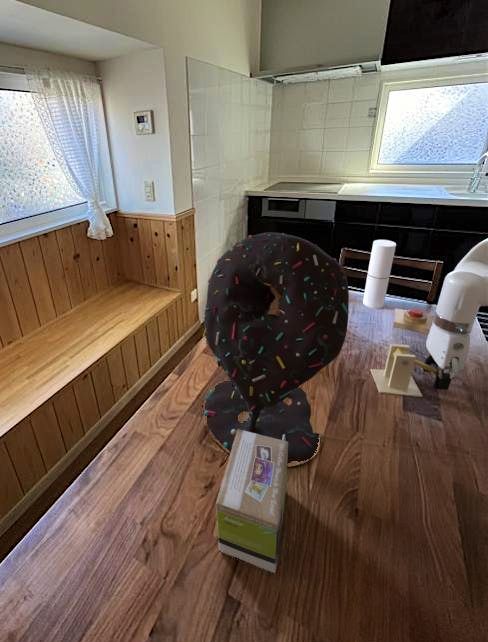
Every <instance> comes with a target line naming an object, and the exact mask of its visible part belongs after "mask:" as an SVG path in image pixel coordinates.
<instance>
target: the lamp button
mask: <svg viewBox="0 0 488 642" xmlns="http://www.w3.org/2000/svg"><path fill="white" fill-rule="evenodd" d="M409 309H410V313H409V314H410V315H411V316H413V317H417V318H420V317H422V314H423V312H424V311H423V310H422V309H420V308H417V307H411V308H409Z"/></svg>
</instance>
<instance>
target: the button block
mask: <svg viewBox="0 0 488 642" xmlns="http://www.w3.org/2000/svg"><path fill="white" fill-rule="evenodd" d="M410 309H411V308H409V309H401V308H396V307H395V308H394V310H393V318H392V319H393V320H392V328H393V329H394V328H395V329H400V330H405V331H408V332H409V331H410V332H414V333H419V334H423V335H428V334H429V331H430V329H431V326H432V324H433V319H434V315H435V314H429V313H425V312H424V311H423V314H422V317H420V318H417V317H413V316H411V315H410V314H409V313H410Z"/></svg>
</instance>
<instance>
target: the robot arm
mask: <svg viewBox="0 0 488 642" xmlns="http://www.w3.org/2000/svg"><path fill="white" fill-rule="evenodd" d="M481 307H488V238H486V239H484V240H482V241H480V242H478V243H477V244H476V245H475V246H473V247H472V248H471V249H470V250H469V252H467V254H466V255H464V257H463V258H462V259H461V260H460V261H459V262H458V263H457V265H456V266H455V267H454V269H453V271H451V272H449V273H447V274H446V276H445V277H444V280H443V284H442V287H441V291H440V295H439V298H438V302H437V304H436V308H435V312H434V314H433V315H434V319H433V324H432V326H431V329H430V331H429V334H427V338H426V341H425V347H426V350H427V352H426V354H425V360H424V363H425V364H427V365H429V366H430V365H431V364H436V365H437V367H438V368H439V375H435V379H434V381H433V384H432V388H433V389H434V390H441V391H442V390H443V391H448V390H449V388H450V385H451V382H452V380H456V379H460V377H461V376H460V375H461V374H460V371H463V370H464V369H465V366H466V363H467V359H468V356H469V351H470V345H471V333H472V330H473V327H474V324H475V322H476V318H477V316H478V313H479V310H480V308H481ZM445 370H448V372H445ZM422 371H423V372H424V373H431V372H430V371H428V370H426V369H423V368H422Z"/></svg>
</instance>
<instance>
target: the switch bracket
mask: <svg viewBox="0 0 488 642" xmlns="http://www.w3.org/2000/svg"><path fill="white" fill-rule="evenodd" d="M398 348H400V349H402V350H404V351H406V352H408V353H409V354H398V353H396V354H395V358H394V356H393V353H394V352H395V351H396V350H397V349H398ZM410 350H411V346H410V345H409V344H399V343H390V344H389V349H388V352H387V356H386V357H387V358H386V362H385V366H384V369H379V368H377V369H376V368H370V373H371V375H372V378H373V380H374V383H375V385H376V388H377V390H378V393H379V394H386V395H395V396H396V395H397V396H406V397H408V396H409V397H415V398H417V397H418V398H423V393H421V391H420V388H419V387H418V385H417V384H416V381H415V379H414V377H413V376H412V374H413V370H414V367H415V364H414V363H415V360H417V356H416V355H415V354H410Z"/></svg>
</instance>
